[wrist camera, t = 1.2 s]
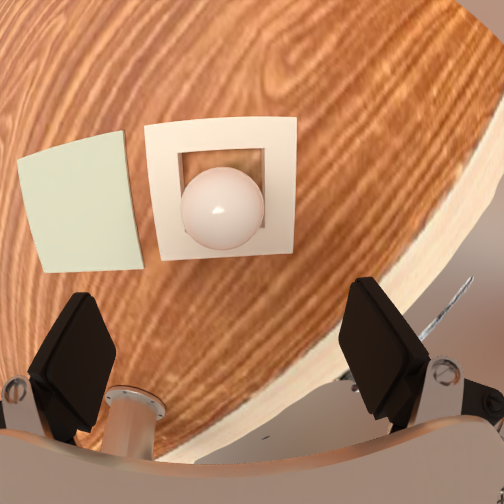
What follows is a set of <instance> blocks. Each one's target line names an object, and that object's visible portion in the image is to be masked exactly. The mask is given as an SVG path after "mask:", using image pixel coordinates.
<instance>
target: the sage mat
mask: <svg viewBox="0 0 504 504" xmlns="http://www.w3.org/2000/svg"><path fill="white" fill-rule="evenodd" d="M17 166H18V172H19V179H20V184H21V190H22V195H23V200H24V205H25V209H26V213H27V217H28V221H29V225H30V229H31V232H32V236H33V239H34V243H35V246H36V249H37V252H38V255H39V258H40V261H41V264H42V267H43V270H44V272H45V273H59V272H84V271H108V270H129V269H144V267H145V265H144V261H143V256H142V252H141V247H140V242H139V237H138V231H137V226H136V220H135V215H134V209H133V202H132V196H131V189H130V181H129V174H128V165H127V156H126V145H125V133H124V130H121V131H116V132H111V133H106V134H102V135H97V136H93V137H89V138H85V139H81V140H77V141H73V142H70V143H66V144H63V145H59V146H56V147H53V148H49V149H46V150H43V151H40V152H37V153H34V154H31V155H29V156H26V157H23V158H20V159H18V160H17Z"/></svg>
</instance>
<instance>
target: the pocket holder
mask: <svg viewBox="0 0 504 504" xmlns="http://www.w3.org/2000/svg"><path fill="white" fill-rule="evenodd" d="M144 130H145V143H146V155H147V166H148V175H149V184H150V192H151V200H152V207H153V214H154V221H155V227H156V233H157V239H158V245H159V250H160V256H161V261H166V260H184V259H202V258H219V257H236V256H253V255H270V254H287V253H293V240H294V218H295V191H296V145H297V117H225V118H209V119H196V120H185V121H176V122H168V123H160V124H153V125H147V126H144ZM246 148H261V173H262V197H263V201H264V215H263V219H262V223H261V225H260V227H259V229H258V231H257V232H256V234H255V235H254V236H253V237H252V238H251V239H250V240H249V241H248V242H246V243H245V244H243V245H241V246H239V247H237V248H234V249H230V250H214V249H210V248H207V247H204V246H202V245H200V244H199V243H197V242H196V241H195V240H194V239H193V238H192V237H191V236H190V235H189V234H188V232H187V231H186V229H185V227H184V225H183V222H182V219H181V213H180V204H181V199H182V195H183V193H184V190H185V187H184V176H183V163H182V153H183V152H194V151H207V150H223V149H246Z"/></svg>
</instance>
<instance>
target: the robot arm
mask: <svg viewBox="0 0 504 504" xmlns="http://www.w3.org/2000/svg"><path fill="white" fill-rule="evenodd" d="M339 345H340V347H341V349H342V352H343V354H344V356H345V358H346V361H347V363H348V365H349V368H350V370H351V372H352V375H353V377H354V379H355V382H356V384H357V386H358V389H359V391H360V393H361V396H362V398H363V401H364V403H365V405H366V408H367V410H368V412H369V413H370V414H373V415H374V418H375V420H378V419H381V418H384V417H388V419H389V421H390V424H389V427H388V430H387V432H386V435H385V436H383V437H380V438H376V439H373V440H370V441H366V442H363V443H359V444H356V445H352V446H348V447H345V448H341V449H337V450H332V451H328V452H323V453H319V454H314V455H309V456H303V457H297V458H290V459H284V460H276V461H266V462H257V463H243V464H182V463H168V462H157V461H152V455H153V445H154V436H155V428H156V421H157V420H160V419H162V418H163V417H164V416H165V411H166V409H165V406H164V404H163V403H162V402H161V401H160V400H159V399H158V398H156V397H155V396H153V395H151V394H149V393H147V392H145V391H142V390H139V389H136V388H132V387H126V386H116V387H112V388H109V389H108V390H107V391H106V394H105V400H106V402H107V404H108V405H109V406H110V410H109V414H108V418H107V422H106V426H105V430H104V435H103V439H102V444H101V449H100V452H97V451H93V450H89V449H85V448H83V447H82V445H81V443H80V441H79V439H78V437H77V435H76V432H77V429H78V430H80V431H84V432H88V433H91V429H92V426H95V424H96V421H97V417H98V413H99V410H100V406H101V402H102V399H103V395H104V392H105V389H106V385H107V382H108V379H109V376H110V373H111V369H112V366H113V363H114V360H115V357H116V348H115V345H114V343H113V341H112V339H111V337H110V334H109V332H108V330H107V328H106V325H105V323H104V321H103V318H102V316H101V313H100V311H99V308H98V306H97V303H96V301H95V299H94V297H92V296H91V295H90V294H89V293H87V292H76V293H74V294H73V295H72V297H71V298H70V300H69V301H68V303H67V304H66V306H65V307H64V309H63V310H62V312H61V313H60V315H59V317H58V318H57V320H56V321H55V323H54V325H53V326H52V328H51V330H50V331H49V333H48V335H47V336H46V338H45V340H44V341H43V343H42V345H41V347H40V349H39V350H38V352H37V354H36V356H35V358H34V360H33V361H32V363H31V365H30V367H29V369H28V371H27V372H28V373H29V375H30V376H31V377H30V379H28V378H27V377H25V376H23V375H16V376H13V377H11V378H10V379H9V380H8V381H7V382H6V383H5V385H4V386H3V389H2V392H1V398H2V400H1V401H0V504H504V396H503V395H502V393H501V392H499V391H498V390H496V389H494V388H491V387H488V386H485V385H482V384H479V383H476V382H473V381H470V380H467V379H465V378H464V371H463V369H462V367H461V366H460V364H459V363H458V362H457V361H456V360H454V359H453V358H450V357H448V356H437V357H435V358H433V359H432V360H431V359H430V358H429V356H428V355H429V353H428V351H427V350H426V348H425V347H424V346H423V344H422V343H421V341H420V340H419V338H418V337H417V335H416V334H415V333H414V331H413V330H412V329H411V327H410V326H409V324H408V323H407V322H406V320H405V319H404V318H403V316H402V315H401V313H400V312H399V311H398V309H397V308H396V307H395V305H394V304H393V303H392V301H391V300H390V299H389V297H388V296H387V295H386V294H385V292H384V291H383V290H382V288H381V287H380V286H379V285H378V283H377V282H376V281H375V280H374V278H372V277H362V278H357V279H356V280H355V282H353V283H352V284H351V286H350V290H349V295H348V300H347V304H346V308H345V313H344V317H343V321H342V325H341V329H340V333H339Z"/></svg>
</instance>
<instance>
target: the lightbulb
mask: <svg viewBox="0 0 504 504" xmlns="http://www.w3.org/2000/svg"><path fill="white" fill-rule="evenodd" d="M180 213H181V219H182V222H183V225H184V227H185V229H186V231H187V232H188V234H189V235H190V236H191V237H192V238H193V239H194V240H195V241H196V242H197V243H199V244H200V245H202V246H204V247H207V248H210V249H214V250H230V249H234V248H237V247H239V246H241V245H243V244H245V243H246V242H248V241H249V240H250V239H251V238H252V237H253V236H254V235H255V234H256V232H257V231H258V229H259V227H260V225H261V223H262V219H263V215H264V201H263V197H262V194H261V191H260V189H259V187H258V186H257V184H256V183H255V182H254V180H253V179H252V178H251V177H249V176H248V175H247V174H245V173H244V172H242V171H240V170H238V169H235V168H231V167H214V168H210V169H207V170H205V171H203V172H201V173H200V174H198V175H197V176H195V177H194V178H193V179H192V180H191V181H190V183H189V184H188V185H187V187H186V188H185V190H184V193H183V195H182V199H181V204H180Z"/></svg>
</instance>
